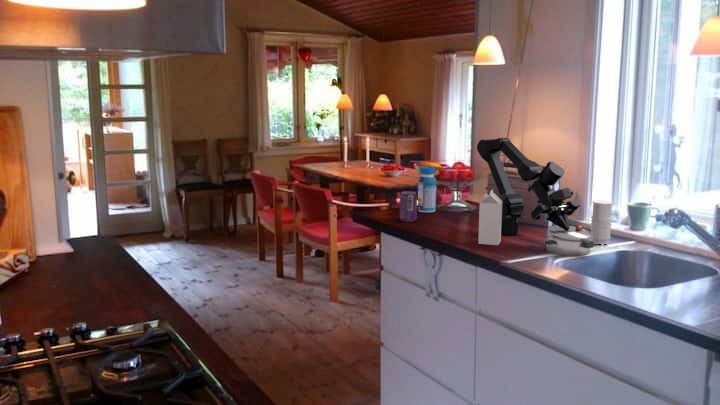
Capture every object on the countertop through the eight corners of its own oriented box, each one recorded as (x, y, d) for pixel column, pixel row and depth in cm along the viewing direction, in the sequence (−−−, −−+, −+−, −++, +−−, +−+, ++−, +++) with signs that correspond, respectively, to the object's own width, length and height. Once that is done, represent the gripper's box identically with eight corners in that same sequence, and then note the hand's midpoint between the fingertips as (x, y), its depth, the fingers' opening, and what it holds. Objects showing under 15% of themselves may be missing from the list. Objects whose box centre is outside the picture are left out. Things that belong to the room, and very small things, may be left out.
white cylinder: (585, 241, 232) (588, 201, 230) (600, 240, 235) (603, 199, 232) (598, 246, 226) (601, 204, 224) (614, 244, 229) (617, 203, 226)
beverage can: (419, 220, 270) (420, 192, 268) (411, 223, 264) (412, 194, 262) (404, 218, 274) (405, 190, 272) (396, 221, 268) (396, 192, 266)
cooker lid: (538, 230, 221) (539, 223, 220) (567, 226, 228) (568, 219, 227) (570, 243, 209) (571, 236, 208) (600, 238, 216) (601, 231, 215)
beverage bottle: (430, 213, 285) (431, 168, 281) (413, 211, 289) (414, 167, 286) (439, 210, 292) (440, 166, 288) (422, 208, 296) (423, 165, 293)
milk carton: (500, 241, 233) (502, 189, 229) (498, 245, 226) (500, 192, 223) (481, 239, 235) (482, 188, 232) (478, 244, 228) (479, 191, 225)
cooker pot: (531, 249, 221) (532, 235, 220) (572, 243, 230) (573, 229, 229) (567, 260, 207) (568, 245, 206) (610, 253, 216) (611, 238, 216)
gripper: (538, 181, 216) (562, 218, 208) (577, 177, 225) (601, 213, 217) (520, 201, 224) (543, 238, 216) (559, 197, 233) (581, 232, 225)
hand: (568, 229), depth 219 cm, fingers closed, pressing on cooker lid
